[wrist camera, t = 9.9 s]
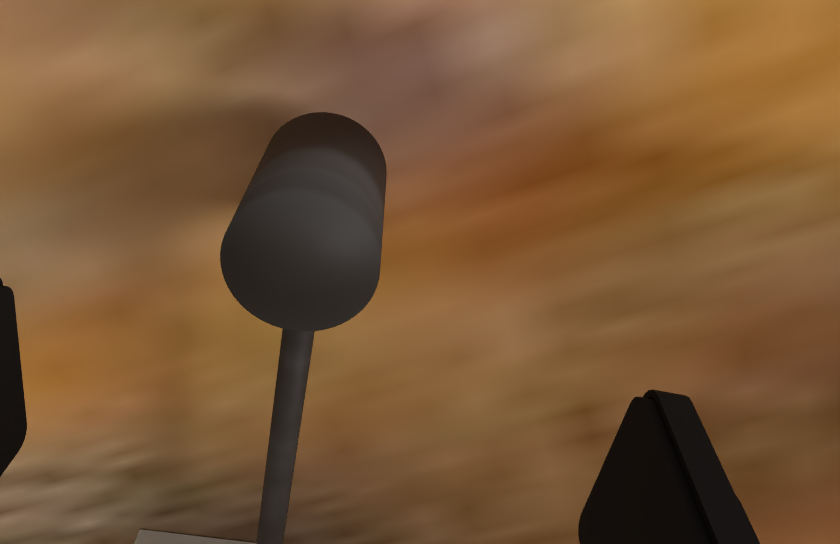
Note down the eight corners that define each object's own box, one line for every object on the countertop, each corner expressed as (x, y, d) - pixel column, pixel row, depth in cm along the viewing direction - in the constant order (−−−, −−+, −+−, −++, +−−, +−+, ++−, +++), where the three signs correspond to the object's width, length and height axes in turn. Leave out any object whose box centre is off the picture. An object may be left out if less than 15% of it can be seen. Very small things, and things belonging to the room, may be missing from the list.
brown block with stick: (212, 91, 18) (131, 187, 12) (450, 135, 18) (466, 244, 13) (182, 654, 29) (134, 826, 24) (329, 669, 30) (312, 840, 25)
